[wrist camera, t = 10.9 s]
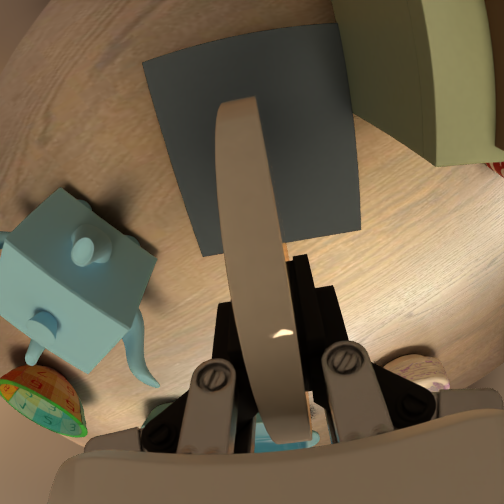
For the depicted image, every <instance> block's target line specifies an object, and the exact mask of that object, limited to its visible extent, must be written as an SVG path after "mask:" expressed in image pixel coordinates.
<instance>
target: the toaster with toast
mask: <svg viewBox="0 0 504 504" xmlns="http://www.w3.org/2000/svg"><path fill="white" fill-rule="evenodd" d="M331 1H332V6H333V10H334V15H335V19H336V23H338V26H339V31H340V36H341V41H342V47H343V52H344V58H345V64H346V70H347V76H348V83H349V89H350V97H351V104H352V112H353V113H354V114H355V115H357V116H359V117H360V118H362V119H364V120H366V121H367V122H369V123H371V124H372V125H374V126H376V127H377V128H379V129H380V130H382V131H384V132H385V133H387V134H388V135H390V136H391V137H393V138H395V139H396V140H398V141H399V142H401V143H402V144H404V145H405V146H407V147H408V148H410V149H411V150H412V151H414V152H415V153H417V154H418V155H420V156H421V157H422V158H424V159H426V160H427V161H428V162H430V163H431V164H432V165H434V166H435V167H443V166H454V165H465V164H478V163H492V162H504V0H331Z"/></svg>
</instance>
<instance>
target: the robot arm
mask: <svg viewBox="0 0 504 504" xmlns="http://www.w3.org/2000/svg"><path fill="white" fill-rule="evenodd" d="M288 266H289V272H290V279H291V286H292V293H293V300H294V307H295V315H296V322H297V329H298V337H299V344H300V350H301V357H302V363H303V370H304V376H305V383H306V390H307V392H308V391H312V392H313V399H314V402H315V403H316V404H318V405H320V406H321V407H323V408H324V411H325V415H326V420H327V425H328V430H329V435H330V439H331V444H330V445H323V446H317V447H310V448H303V449H294V450H285V451H275V452H263V453H254V448H255V433H256V414H257V413H258V412H259V411H258V408H257V405H256V402H255V399H254V396H253V393H252V389H251V386H250V382H249V378H248V375H247V371H246V367H245V363H244V359H243V355H242V350H241V346H240V341H239V337H238V332H237V328H236V323H235V317H234V312H233V307H232V301H231V302H224V303H219V304H218V309H217V317H216V326H215V334H214V343H213V352H212V359H210V360H207V361H205V362H203V363H202V364H200V365H199V366H198V367H197V368H196V369H195V371H194V373H193V375H192V378H191V383H190V388H189V390H188V391H187V392H186V393H184V394H183V395H182V396H181V397H179V398H178V399H177V400H176V401H174V402H173V403H172V404H171V405H169V406H168V407H167V408H166V409H164V410H163V411H162V412H161V413H159V414H158V415H157V416H156V417H154V418H153V419H152V420H150V421H149V422H148V423H147V424H146V425H145V427H144V428H141V429H139V428H138V427H135V428H131V429H127V430H123V431H118V432H114V433H110V434H105V435H100V436H96V437H94V438H91V439H90V440H89V441H88V442H87V443H86V445H85V448H84V453H82V454H78V455H76V456H73V457H71V458H69V459H67V460H66V461H65V462H64V463H63V464H62V465H61V466H60V468H59V470H58V472H57V474H56V476H55V479H54V482H53V484H52V487H51V491H50V494H49V499H48V503H47V504H504V406H503V400H502V397H501V395H500V394H499V393H498V392H497V391H496V390H494V389H491V388H476V389H440V390H439V392H430V391H429V390H428V389H426V388H425V387H423V386H421V385H418V384H416V383H414V382H412V381H410V380H408V379H406V378H403V377H401V376H399V375H397V374H395V373H393V372H391V371H389V370H387V369H385V368H383V367H380V366H378V365H376V364H374V363H372V362H371V361H370V358H369V355H368V353H367V351H366V349H365V348H364V347H363V346H362V345H360V344H359V343H356V342H354V341H349V340H348V336H347V332H346V328H345V325H344V321H343V317H342V314H341V310H340V307H339V303H338V300H337V296H336V293H335V289H334V287H333V285H331V286H325V287H320V288H315V286H314V282H313V277H312V273H311V269H310V265H309V260H308V256H307V254H304V255H298V256H293V260H292V261H288Z"/></svg>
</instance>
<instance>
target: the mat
mask: <svg viewBox="0 0 504 504" xmlns="http://www.w3.org/2000/svg"><path fill="white" fill-rule="evenodd" d="M142 65H143V68H144V72H145V76H146V79H147V83H148V86H149V90H150V94H151V97H152V101H153V104H154V107H155V111H156V114H157V118H158V121H159V124H160V128H161V131H162V134H163V138H164V141H165V144H166V148H167V151H168V154H169V157H170V160H171V164H172V167H173V170H174V173H175V176H176V179H177V182H178V185H179V188H180V191H181V194H182V198H183V201H184V204H185V207H186V210H187V212H188V215H189V218H190V221H191V224H192V227H193V230H194V233H195V236H196V239H197V242H198V244H199V247H200V250H201V253H202V256H203V257H205V256H211V255H217V254H223V253H224V251H223V244H222V237H221V228H220V218H219V209H218V199H217V186H216V170H215V126H216V117H217V112H218V108H219V106H220V104H221V103H222V102H224V101H226V100H231V99H235V98H240V97H245V96H250V95H256V96H257V99H258V103H259V107H260V111H261V116H262V120H263V125H264V129H265V134H266V139H267V143H268V148H269V153H270V158H271V163H272V168H273V173H274V178H275V183H276V188H277V194H278V199H279V204H280V210H281V215H282V221H283V226H284V232H285V238H286V243H287V242H293V241H299V240H305V239H310V238H316V237H322V236H328V235H334V234H340V233H346V232H352V231H358V230H361V214H360V192H359V175H358V162H357V150H356V139H355V129H354V120H353V112H352V104H351V97H350V89H349V83H348V76H347V70H346V64H345V58H344V52H343V47H342V41H341V36H340V31H339V26H338V23H328V24H314V25H304V26H294V27H286V28H279V29H272V30H266V31H260V32H254V33H248V34H243V35H238V36H233V37H229V38H224V39H220V40H216V41H212V42H208V43H204V44H200V45H196V46H192V47H189V48H185V49H182V50H179V51H175V52H172V53H169V54H166V55H163V56H160V57H157V58H154V59H151V60H148V61H145V62H142Z"/></svg>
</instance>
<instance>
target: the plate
mask: <svg viewBox="0 0 504 504" xmlns="http://www.w3.org/2000/svg"><path fill="white" fill-rule="evenodd" d="M215 170H216V186H217V199H218V209H219V218H220V228H221V237H222V244H223V251H224V258H225V265H226V272H227V278H228V284H229V290H230V296H231V301H232V307H233V312H234V317H235V323H236V328H237V332H238V337H239V341H240V346H241V350H242V355H243V359H244V363H245V367H246V371H247V375H248V378H249V382H250V386H251V389H252V393H253V396H254V399H255V402H256V405H257V408H258V411H259V414H260V417H261V419H262V422H263V424H264V426H265V429H266V431H267V433H268V434H269V436H270V438H271V439H272V441H273V442H275V443H276V444H289V443H297V442H305V441H311V440H312V439H313V436H312V423H311V413H310V404H309V395H308V392H307V390H306V383H305V376H304V370H303V363H302V357H301V350H300V344H299V337H298V329H297V322H296V315H295V307H294V300H293V293H292V286H291V279H290V272H289V266H288V261H289V255H288V250H287V244H286V238H285V232H284V226H283V221H282V215H281V210H280V204H279V199H278V194H277V188H276V183H275V178H274V173H273V168H272V163H271V158H270V153H269V148H268V143H267V139H266V134H265V129H264V125H263V120H262V116H261V111H260V107H259V103H258V99H257V96H256V95H250V96H245V97H240V98H235V99H231V100H226V101H224V102H222V103H221V104H220V106H219V108H218V112H217V117H216V126H215Z"/></svg>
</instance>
